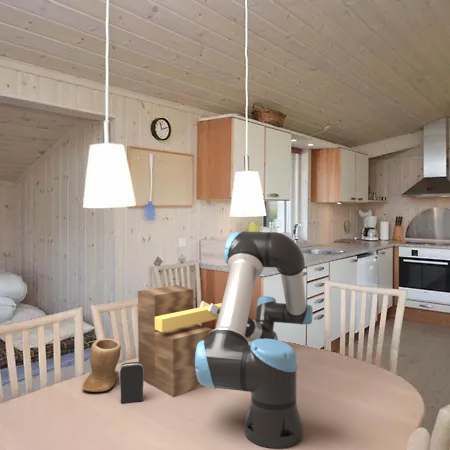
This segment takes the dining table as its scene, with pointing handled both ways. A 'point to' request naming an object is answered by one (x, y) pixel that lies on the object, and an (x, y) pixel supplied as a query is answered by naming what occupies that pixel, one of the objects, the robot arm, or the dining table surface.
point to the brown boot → (103, 365)
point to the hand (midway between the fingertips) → (205, 306)
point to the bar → (184, 318)
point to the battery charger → (131, 382)
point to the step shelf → (168, 340)
